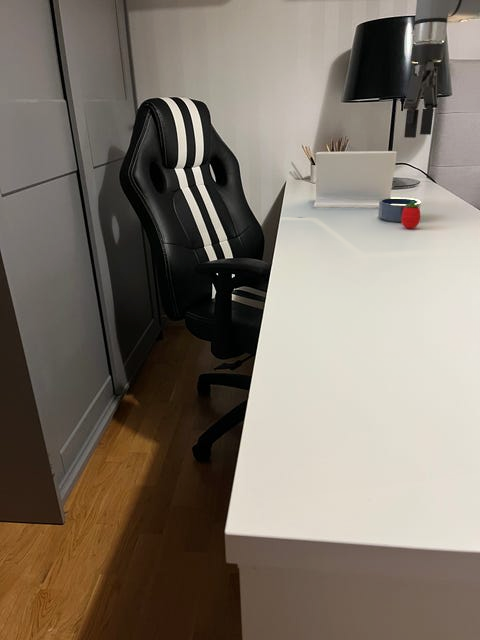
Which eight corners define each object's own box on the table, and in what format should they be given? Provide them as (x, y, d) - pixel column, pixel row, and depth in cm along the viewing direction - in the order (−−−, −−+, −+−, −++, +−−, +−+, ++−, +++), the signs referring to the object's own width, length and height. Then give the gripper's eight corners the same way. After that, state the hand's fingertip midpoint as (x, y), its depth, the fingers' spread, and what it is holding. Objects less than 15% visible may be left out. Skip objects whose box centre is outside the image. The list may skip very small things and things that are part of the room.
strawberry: (414, 226, 136) (416, 199, 133) (421, 229, 132) (425, 202, 129) (397, 227, 135) (400, 200, 132) (405, 230, 131) (408, 203, 128)
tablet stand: (392, 208, 159) (398, 151, 152) (313, 207, 164) (315, 152, 157) (388, 198, 175) (393, 147, 169) (316, 197, 180) (318, 148, 173)
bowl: (408, 214, 150) (409, 197, 148) (425, 221, 140) (427, 203, 138) (372, 216, 149) (373, 199, 147) (387, 224, 139) (388, 205, 137)
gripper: (427, 49, 135) (417, 133, 143) (396, 41, 116) (387, 138, 124) (456, 47, 131) (444, 133, 139) (429, 38, 112) (418, 139, 120)
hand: (417, 136), depth 132 cm, fingers open, 13 cm apart
